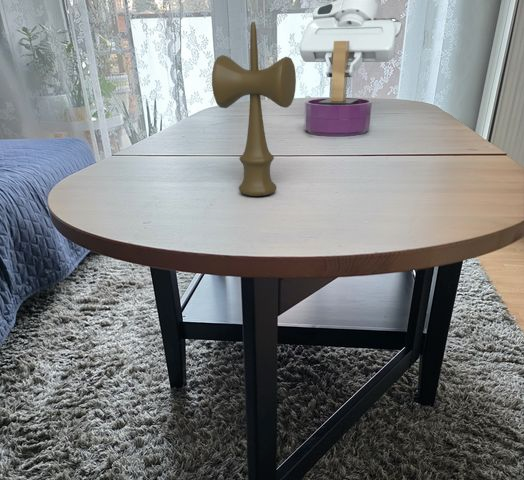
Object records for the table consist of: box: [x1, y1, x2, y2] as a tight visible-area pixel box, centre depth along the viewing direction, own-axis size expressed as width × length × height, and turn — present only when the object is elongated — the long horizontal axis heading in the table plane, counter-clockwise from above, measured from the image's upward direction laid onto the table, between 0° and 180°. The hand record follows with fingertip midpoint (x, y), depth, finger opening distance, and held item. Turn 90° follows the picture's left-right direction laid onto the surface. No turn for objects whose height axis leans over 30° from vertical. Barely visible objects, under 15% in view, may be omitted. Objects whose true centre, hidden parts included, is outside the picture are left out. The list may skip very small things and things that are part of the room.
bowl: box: [304, 97, 373, 137], centre depth 111 cm, size 14×14×6 cm
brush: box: [318, 41, 358, 105], centre depth 107 cm, size 7×7×14 cm
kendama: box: [211, 21, 297, 197], centre depth 65 cm, size 6×10×20 cm, turn 68°
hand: (338, 75), depth 106 cm, fingers closed on brush, 2 cm apart
